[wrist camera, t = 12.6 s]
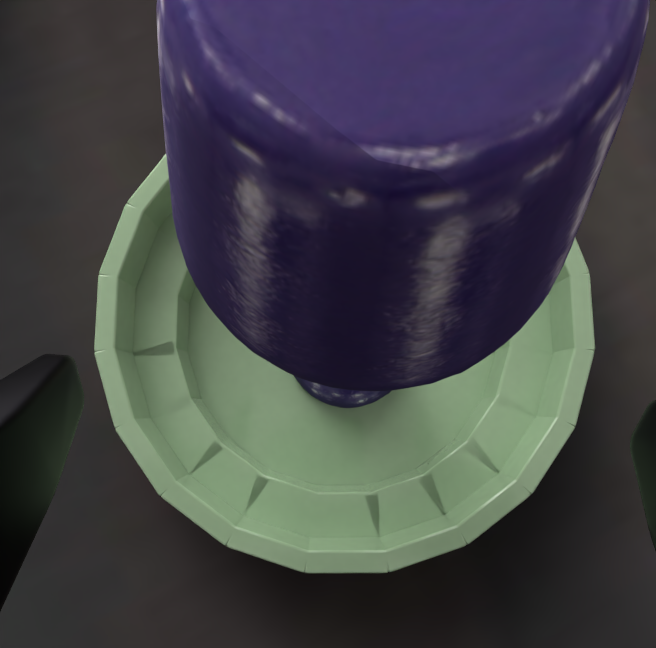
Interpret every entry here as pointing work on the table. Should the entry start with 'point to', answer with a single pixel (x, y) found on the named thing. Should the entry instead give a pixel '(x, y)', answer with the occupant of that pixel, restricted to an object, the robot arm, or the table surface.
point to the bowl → (324, 419)
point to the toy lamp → (386, 171)
